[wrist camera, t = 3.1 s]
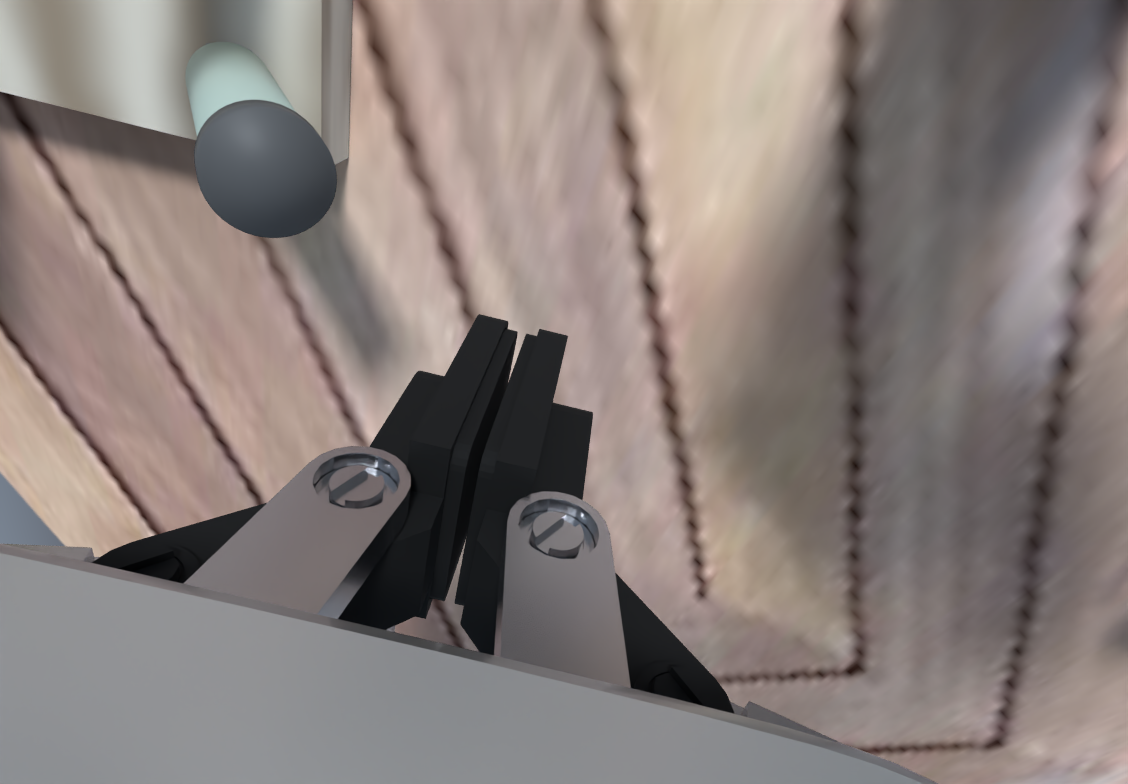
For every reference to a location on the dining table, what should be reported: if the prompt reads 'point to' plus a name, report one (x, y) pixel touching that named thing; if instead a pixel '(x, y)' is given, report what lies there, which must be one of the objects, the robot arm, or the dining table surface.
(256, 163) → the hinged leg
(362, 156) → the dining table surface
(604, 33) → the dining table surface
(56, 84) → the stool
